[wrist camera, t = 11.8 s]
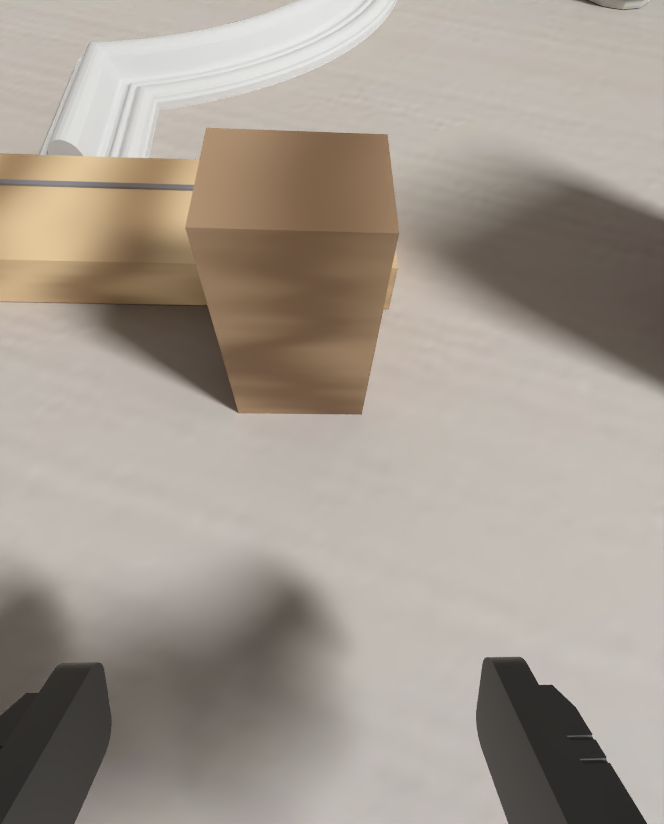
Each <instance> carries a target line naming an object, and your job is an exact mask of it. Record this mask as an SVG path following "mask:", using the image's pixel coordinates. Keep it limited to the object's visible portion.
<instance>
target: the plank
mask: <svg viewBox="0 0 664 824" xmlns="http://www.w3.org/2000/svg"><path fill="white" fill-rule="evenodd" d="M198 165H199V160H190V159H158V158H127V157H95V156H64V155H33V154H1V153H0V301H5V302H58V303H111V304H164V305H207V302H206V298H205V295H204V291H203V288H202V284H201V281H200V277H199V274H198V270H197V267H196V263H195V260H194V257H193V253H192V250H191V246H190V243H189V239H188V236H187V232H186V229H185V226H186V221H187V216H188V212H189V207H190V202H191V197H192V193H193V188H194V183H195V179H196V174H197V169H198ZM397 269H398V267H397V258H396V250H395V255H394V260H393V264H392V269H391V274H390V279H389V284H388V289H387V294H386V298H385V303H384V308H383V309H389V306H390V301H391V297H392V292H393V288H394V283H395V278H396V274H397Z"/></svg>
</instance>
